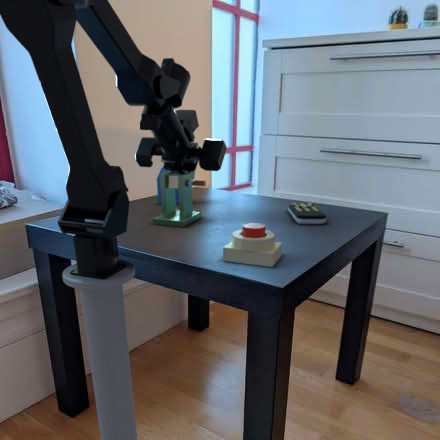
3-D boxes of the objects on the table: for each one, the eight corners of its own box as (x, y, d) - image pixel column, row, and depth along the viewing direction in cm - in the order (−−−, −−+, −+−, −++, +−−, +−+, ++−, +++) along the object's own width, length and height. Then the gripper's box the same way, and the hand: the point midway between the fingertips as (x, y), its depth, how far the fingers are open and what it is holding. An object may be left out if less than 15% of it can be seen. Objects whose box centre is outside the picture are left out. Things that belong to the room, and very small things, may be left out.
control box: (271, 268, 63) (273, 242, 61) (222, 261, 65) (222, 236, 64) (281, 255, 68) (283, 231, 67) (235, 249, 71) (236, 226, 69)
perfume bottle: (158, 204, 104) (155, 153, 99) (162, 199, 110) (159, 151, 105) (182, 204, 104) (181, 154, 99) (185, 199, 110) (184, 151, 105)
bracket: (172, 214, 94) (170, 169, 90) (201, 217, 92) (200, 171, 88) (153, 224, 86) (150, 175, 82) (183, 227, 84) (182, 177, 80)
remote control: (297, 225, 86) (298, 215, 85) (287, 211, 98) (287, 202, 97) (327, 224, 86) (328, 215, 85) (313, 211, 98) (314, 202, 97)
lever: (181, 187, 95) (181, 176, 94) (205, 189, 93) (206, 178, 92) (160, 187, 86) (160, 175, 85) (186, 189, 84) (187, 177, 83)
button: (261, 240, 63) (262, 229, 63) (239, 238, 65) (239, 227, 64) (267, 234, 66) (268, 224, 66) (246, 232, 68) (246, 221, 67)
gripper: (223, 94, 78) (241, 149, 92) (136, 95, 84) (165, 146, 98) (208, 143, 75) (228, 192, 89) (119, 140, 81) (151, 186, 95)
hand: (192, 177), depth 93 cm, fingers closed, pressing on bracket
